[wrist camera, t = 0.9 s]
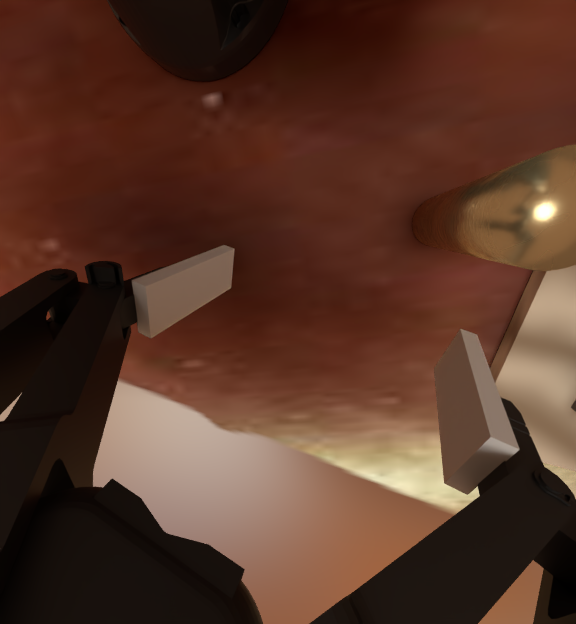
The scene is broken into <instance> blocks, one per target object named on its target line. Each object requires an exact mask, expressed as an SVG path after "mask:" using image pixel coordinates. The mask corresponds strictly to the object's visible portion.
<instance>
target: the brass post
mask: <svg viewBox="0 0 576 624" xmlns="http://www.w3.org/2000/svg"><path fill="white" fill-rule="evenodd" d="M412 230H413V233H414V235H415V237H416V238H417V240H418V241H420V242H421V243H423V244H424V245H427V246H431V247H435V248H440V249H444V250H448V251H453V252H457V253H461V254H465V255H470V256H474V257H478V258H483V259H487V260H491V261H496V262H500V263H504V264H508V265H513V266H517V267H521V268H526V269H530V270H537V271H552V270H559V269H564V268H568V267H571V266H574V265H576V145H569V146H564V147H560V148H556V149H553V150H550V151H547V152H545V153H542V154H540V155H537V156H535V157H532V158H530V159H527V160H525V161H522V162H520V163H517V164H515V165H512V166H510V167H507V168H505V169H502V170H500V171H497V172H495V173H492V174H490V175H487V176H485V177H482V178H480V179H477V180H475V181H472V182H470V183H467V184H465V185H462V186H460V187H457V188H455V189H452V190H450V191H447V192H445V193H442V194H440V195H437V196H435V197H432V198H430V199H428V200H426V201H425V202H424V203H422V204H421V205H420V206H419V208H418V209H417V210H416V212H415V214H414V216H413V220H412Z"/></svg>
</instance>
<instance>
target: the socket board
mask: <svg viewBox="0 0 576 624" xmlns="http://www.w3.org/2000/svg"><path fill="white" fill-rule="evenodd" d="M490 371H491V374H492V376H493V379H494V382H495V384H496V387H497V390H498V393H499V395H500V397H501V398H504V399H506V400H509V401H511V402H512V403H513V404H514V405H515V407H516V408H517V409H518V410H519V411H520V413H521V414H522V417H523V419H524V421H525V424H526V427H527V428H528V430H529V433H530V436H531V437H532V440H533V442H534V444H535V447H536V449H537V451H538V453H539V456H540V458H541V460H542V463H546V464H550V465H554V466H557V467H561V468H565V469H569V470H572V471H576V265H574V266H571V267H568V268H564V269H559V270H552V271H537V270H533V272H532V275H531V277H530V279H529V281H528V284H527V286H526V288H525V290H524V293H523V295H522V297H521V299H520V302H519V304H518V306H517V308H516V311H515V313H514V315H513V317H512V320H511V322H510V324H509V326H508V329H507V331H506V333H505V335H504V338H503V340H502V342H501V344H500V347H499V349H498V351H497V353H496V356H495V358H494V360H493V363H492V365H491V367H490Z"/></svg>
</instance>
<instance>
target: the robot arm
mask: <svg viewBox="0 0 576 624" xmlns="http://www.w3.org/2000/svg"><path fill="white" fill-rule="evenodd" d="M107 1H108V3H109V5H110V7H111V9H112V11H113V13H114V14H115V16H116V18H117V19H118V21H119V22H120V24H121V26H122V27H123V28H124V30H125V31H126V33H127V34H128V35H129V36H130V37H131V39H132V40H133V41H134V42H135V43H136V44H137V45H138V46H139V47H140V48H141V49H142V50H143V51H144V52H145V53H146V54H147V55H149V56H150V57H151V58H152V59H153V60H155V61H156V62H157V63H158V64H159V65H161V66H162V67H163V68H164V69H166V70H167V71H169V72H171V73H172V74H174V75H176V76H179V77H181V78H184V79H188V80H193V81H211V80H216V79H220V78H223V77H225V76H228V75H230V74H232V73H234V72H236V71H237V70H239V69H241V68H242V67H243V66H245V65H246V64H247V63H248V62H249V61H251V60H252V59H253V58H254V57H255V56H256V55H257V54H258V53H259V51H260V50H261V49H262V48H263V47H264V45H265V44H266V43H267V41H268V40H269V38H270V37H271V35H272V34H273V32H274V30H275V28H276V27H277V25H278V23H279V21H280V19H281V17H282V14H283V12H284V10H285V7H286V4H287V1H288V0H107ZM234 250H235V249H234V248H231V247H228V246H226V245H223V246H220V247H217V248H215V249H212V250H210V251H207V252H204V253H202V254H199V255H196V256H194V257H191V258H189V259H186V260H183V261H181V262H178V263H176V264H173V265H170V266H167V267H161V268H158V269H155V270H152V272H151V271H150V272H147V273H145V274H142V275H139V276H136V277H134V278H131V279H128V280H126V281H124V280H123V273H122V267H121V265H120V264H118V263H115V262H110V261H98V262H93V263H90V264H88V265H86V266H85V270H86V274H87V279H88V283H89V284H88V283H83V282H78V278H77V274H76V272H74V271H72V270H68V269H52V270H49V271H45V272H43V273H40V274H39V275H37V276H35V277H34V278H32V279H30V280H29V281H27V282H25V283H23V284H22V285H20V286H18V287H17V288H15V289H13V290H12V291H10V292H8V293H6V294H5V295H3V296H1V297H0V414H1V413H2V412H3V411H4V410H5V409H6V408H7V407H8V406H9V405H10V404H11V403H12V402H13V401H14V400H15V399H16V398H17V397H18V396H19V395H20V394H21V393H22V394H21V396H20V397H19V399H18V401H17V402H16V404H15V406H14V407H13V409H12V410H11V412H10V414H9V415H8V417H7V418H6V419H5V420H4V421H1V422H0V624H263V622H262V619H261V615H260V613H259V611H258V608H257V606H256V603H255V601H254V599H253V598H252V596H251V594H250V592H249V590H248V589H247V588H246V586H245V585H244V584H243V582H242V581H241V579H242V576H243V573H244V569H243V568H242V567H240V566H239V565H237V564H236V563H234V562H233V561H232V560H230V559H229V558H227V557H226V556H224V555H223V554H221V553H220V552H218V551H217V550H215V549H214V548H213V547H211V546H210V545H208V544H204V543H200V542H197V541H193V540H189V539H185V538H181V537H178V536H174V535H170V534H167V533H166V532H164V531H163V530H162V528H161V527H160V526H159V524H158V522H157V521H156V519H155V518H154V517H153V515H152V514H151V512H150V511H149V509H148V508H147V506H146V505H145V504H144V502H143V501H142V499H141V498H140V497H138V496H137V495H135V494H134V493H133V492H131V491H129V490H128V489H127V488H125V487H124V486H122V485H121V484H119V483H118V482H116V481H115V480H114V479H111V480H110V481H109V482H108V483H107V484H106V485H105V486H104V487H103V488H102V487H93V469H94V464H95V460H96V457H97V453H98V450H99V446H100V442H101V439H102V435H103V431H104V428H105V424H106V421H107V417H108V413H109V410H110V406H111V403H112V399H113V395H114V391H115V388H116V385H117V381H118V377H119V374H120V370H121V366H122V363H123V359H124V356H125V352H126V348H127V345H128V341H129V337H130V334H131V327H130V325H132V324H134V323H136V322H137V326H138V332H139V333H141V334H143V335H145V336H147V337H149V338H153V337H154V336H156V335H157V334H159V333H160V332H162V331H164V330H165V329H167V328H168V327H170V326H172V325H173V324H175V323H176V322H178V321H179V320H181V319H183V318H184V317H186V316H187V315H189V314H191V313H192V312H194V311H195V310H197V309H199V308H200V307H202V306H203V305H205V304H206V303H208V302H210V301H211V300H213V299H214V298H216V297H218V296H219V295H221V294H222V293H224V292H226V291H227V290H229V289H230V288H231V283H232V272H233V261H234ZM48 311H49V313H50V316H51V317H50V318H49V319H48V320H46V315H47V312H48ZM434 375H435V386H436V397H437V408H438V419H439V430H440V442H441V453H442V464H443V475H444V483H445V484H447V485H449V486H451V487H453V488H455V489H457V490H459V491H461V492H463V493H465V494H467V495H468V494H469V493H470V492H471V491H473V490H474V489H475V488H476V487H477V486H478V489H479V494H480V496H479V497H478V498H477V499H475V500H474V501H473V502H471V503H470V504H469V505H467V506H466V507H465V508H464V509H462V510H461V511H460V512H458V513H457V514H456V515H454V516H453V517H452V518H450V519H449V520H448V521H446V522H445V523H444V524H442V525H441V526H440V527H439V528H437V529H436V530H434V531H433V532H432V533H431V534H429V535H428V536H427V537H425V538H424V539H423V540H421V541H420V542H419V543H418V544H416V545H415V546H413V547H412V548H411V549H410V550H408V551H407V552H406V553H404V554H403V555H402V556H400V557H399V558H397V559H396V560H395V561H394V562H392V563H391V564H390V565H388V566H387V567H386V568H384V569H383V570H382V571H380V572H379V573H378V574H376V575H375V576H374V577H372V578H371V579H370V580H369V581H367V582H366V583H364V584H363V585H362V586H361V587H359V588H358V589H357V590H355V591H354V592H352V593H351V594H350V595H348V596H346V597H345V598H343V599H342V600H340V601H339V602H338V603H336V604H335V605H334V606H332V607H331V608H330V609H329V610H327V611H326V612H325V613H323V614H322V615H321V616H319V617H318V618H316V619H315V620H314V621H312V622H311V623H310V624H478V623H479V622H480V621H481V619H482V618H483V617H484V616H485V615H486V614H487V612H488V611H489V610H490V609H491V608H492V606H494V604H495V603H496V602H497V601H498V600H499V599H500V597H501V596H502V595H503V594H504V593H505V592H506V590H507V589H508V588H509V587H510V586H511V585H512V584H513V582H514V581H515V580H516V579H517V578H518V577H519V575H520V574H521V573H522V572H523V571H524V570H525V568H526V567H527V566H528V565H529V564H530V563H531V562H532V560H534V561H535V562H537V563H538V564H539V565H540V566H542V567H543V568H544V570H543V575H542V581H541V586H540V591H539V596H538V601H537V606H536V611H535V617H534V622H533V624H576V499H575V496H574V494H573V493H572V492H571V490H570V489H569V488H568V486H567V485H566V484H565V483H564V482H563V481H562V480H561V479H560V478H559V477H558V476H557V475H555V474H554V473H553V472H551V471H550V470H549V469H547V468H545V467H544V465H543V463H542V460H541V458H540V456H539V453H538V451H537V449H536V447H535V444H534V442H533V440H532V437H531V436H530V433H529V430H528V428H527V427H526V424H525V421H524V419H523V417H522V414H521V413H520V411H519V410H518V409H517V408H516V407H515V405H514V404H513V403H512V402H511V401H509V400H506V399H504V398H501V397H500V395H499V393H498V390H497V387H496V384H495V382H494V379H493V376H492V374H491V371H490V368H489V366H488V363H487V360H486V358H485V355H484V352H483V350H482V347H481V344H480V342H479V339H478V336H477V335H476V334H474V333H471V332H468V331H465V330H462V329H460V330H459V332H458V333H457V335H456V336H455V338H454V339H453V341H452V342H451V344H450V345H449V347H448V348H447V350H446V351H445V353H444V354H443V356H442V357H441V359H440V360H439V362H438V363H437V365H436V366H435V368H434Z"/></svg>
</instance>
